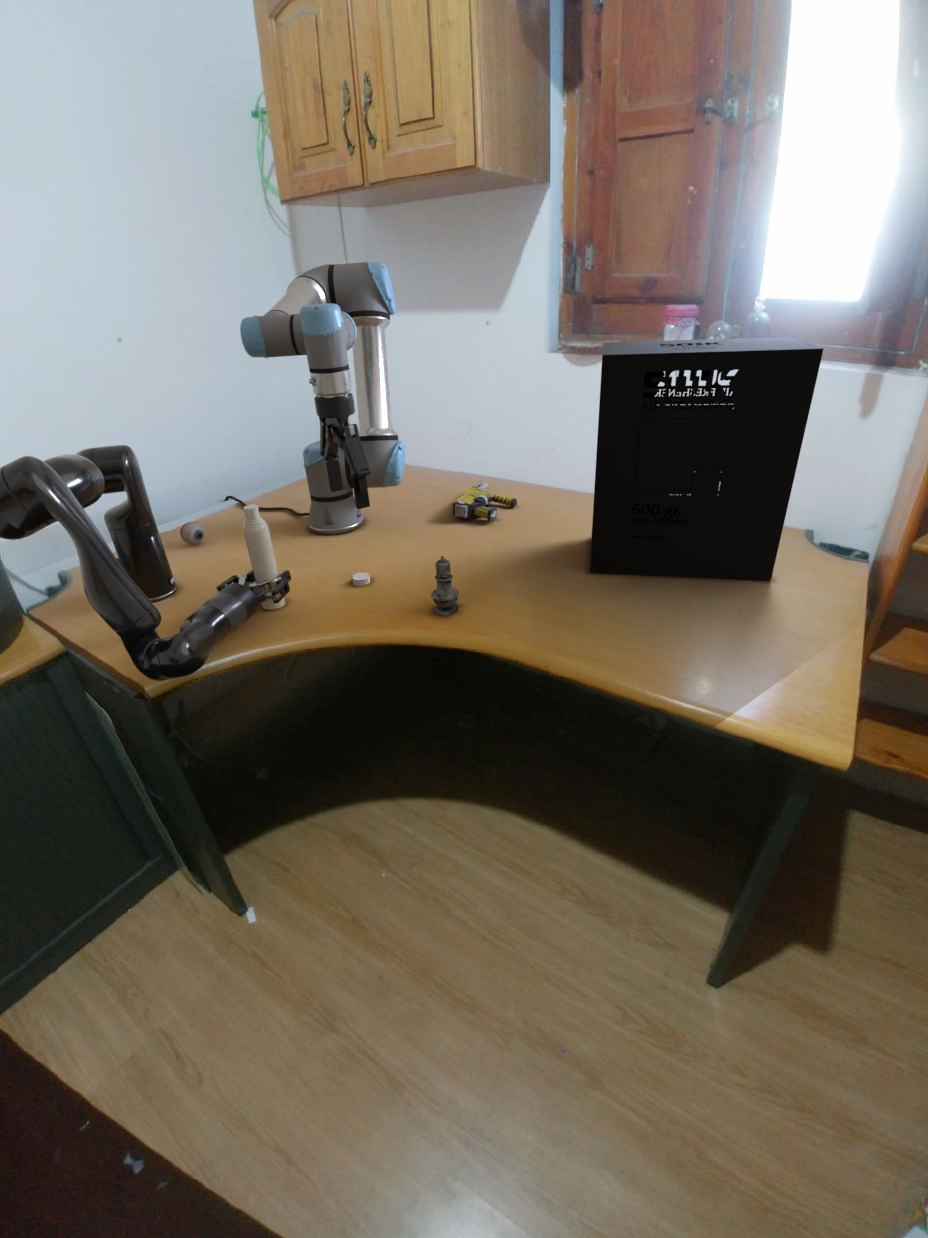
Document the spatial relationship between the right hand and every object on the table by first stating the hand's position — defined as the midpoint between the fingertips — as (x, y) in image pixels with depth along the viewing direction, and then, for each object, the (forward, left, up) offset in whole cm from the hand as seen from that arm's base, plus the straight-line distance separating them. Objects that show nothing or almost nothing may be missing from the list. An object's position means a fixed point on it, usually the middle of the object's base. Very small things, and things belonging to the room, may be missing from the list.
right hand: (349, 498), depth 128 cm
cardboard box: (+39, +61, -20) cm, 75 cm away
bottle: (-3, -20, -20) cm, 28 cm away
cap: (0, 0, -18) cm, 18 cm away
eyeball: (-51, -23, -20) cm, 59 cm away
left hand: (-4, -18, -13) cm, 23 cm away
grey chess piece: (+24, +7, -20) cm, 32 cm away
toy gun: (-17, +51, -20) cm, 57 cm away
